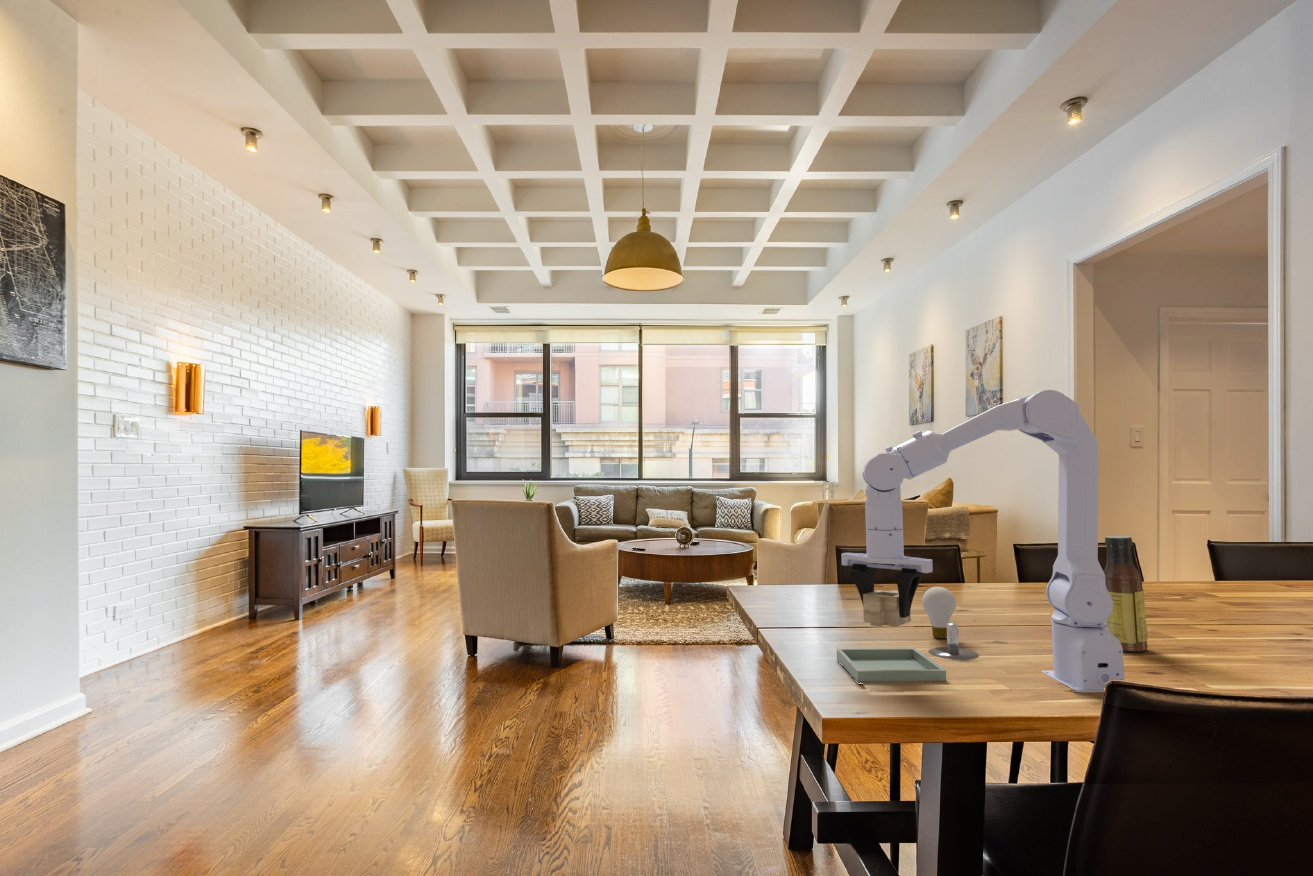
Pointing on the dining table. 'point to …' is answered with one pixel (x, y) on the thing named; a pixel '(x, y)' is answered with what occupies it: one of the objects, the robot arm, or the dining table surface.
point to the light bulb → (939, 609)
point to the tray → (889, 665)
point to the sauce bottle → (1125, 595)
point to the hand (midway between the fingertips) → (886, 614)
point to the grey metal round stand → (953, 646)
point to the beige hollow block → (883, 608)
